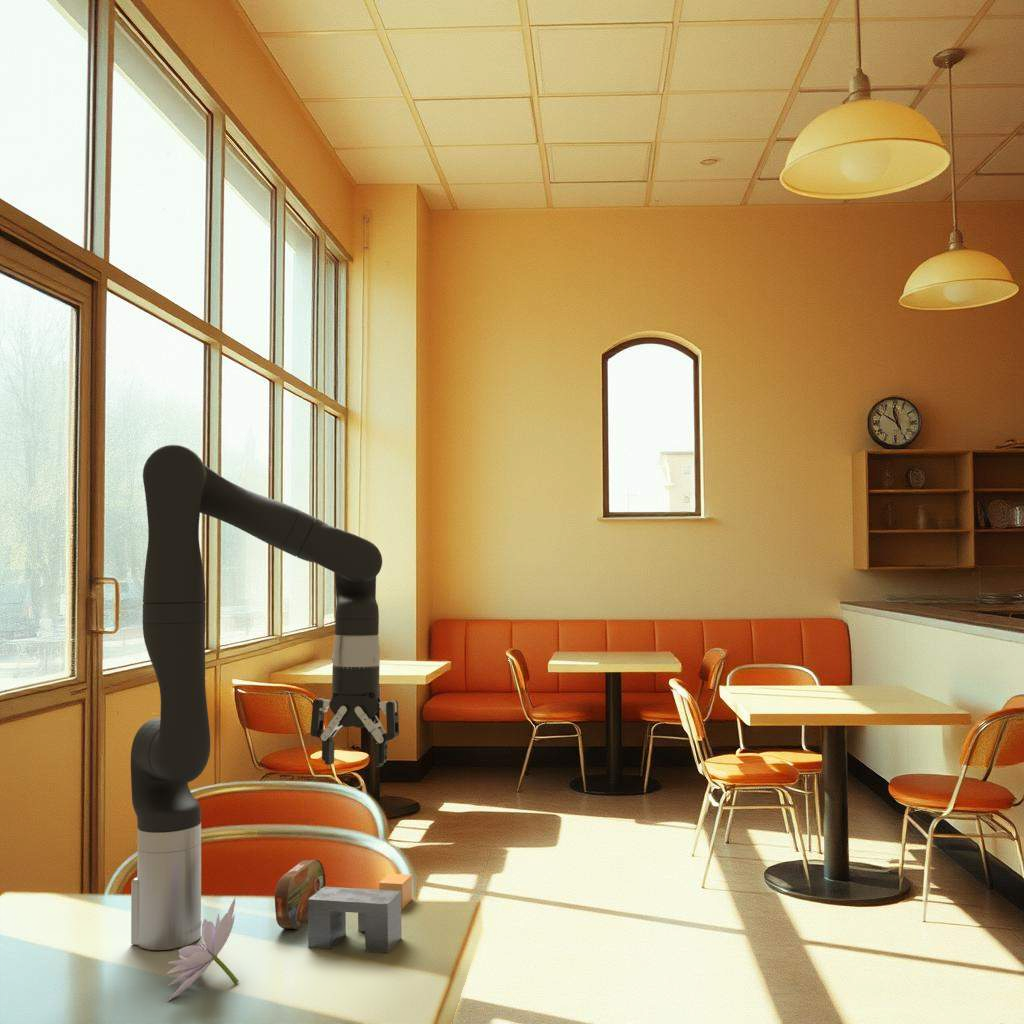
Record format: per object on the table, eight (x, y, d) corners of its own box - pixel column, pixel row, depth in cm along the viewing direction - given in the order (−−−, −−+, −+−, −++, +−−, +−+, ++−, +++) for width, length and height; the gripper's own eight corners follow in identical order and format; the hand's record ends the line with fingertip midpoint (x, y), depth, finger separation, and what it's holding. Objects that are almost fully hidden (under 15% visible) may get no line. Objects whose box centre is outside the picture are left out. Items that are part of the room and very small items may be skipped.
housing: (308, 947, 149) (307, 899, 149) (324, 932, 155) (324, 886, 155) (388, 953, 146) (387, 904, 146) (401, 938, 152) (401, 891, 152)
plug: (355, 930, 155) (354, 904, 156) (389, 897, 171) (389, 873, 171) (379, 932, 154) (379, 905, 155) (412, 898, 170) (411, 874, 170)
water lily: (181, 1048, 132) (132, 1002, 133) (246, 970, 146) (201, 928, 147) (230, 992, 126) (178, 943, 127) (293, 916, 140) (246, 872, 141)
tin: (290, 937, 153) (289, 881, 154) (271, 936, 154) (270, 880, 154) (327, 904, 168) (327, 853, 168) (309, 903, 169) (309, 852, 169)
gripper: (405, 662, 164) (403, 763, 163) (324, 660, 168) (322, 759, 166) (390, 665, 157) (388, 771, 156) (305, 663, 160) (302, 767, 159)
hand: (354, 765), depth 161 cm, fingers open, 8 cm apart
